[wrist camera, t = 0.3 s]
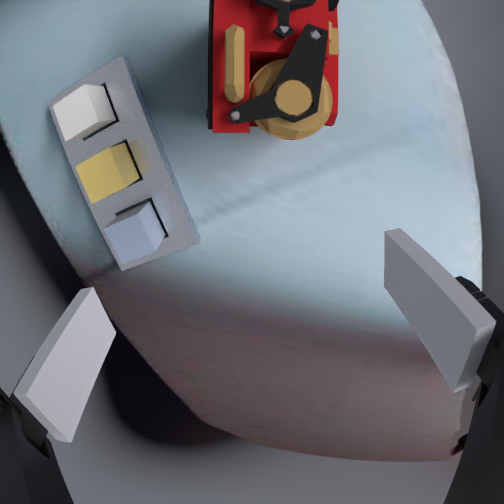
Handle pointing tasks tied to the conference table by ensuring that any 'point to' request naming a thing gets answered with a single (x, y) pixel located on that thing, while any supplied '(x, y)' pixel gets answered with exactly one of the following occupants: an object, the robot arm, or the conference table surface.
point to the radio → (272, 66)
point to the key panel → (146, 156)
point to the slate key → (135, 233)
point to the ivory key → (83, 112)
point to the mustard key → (107, 172)
